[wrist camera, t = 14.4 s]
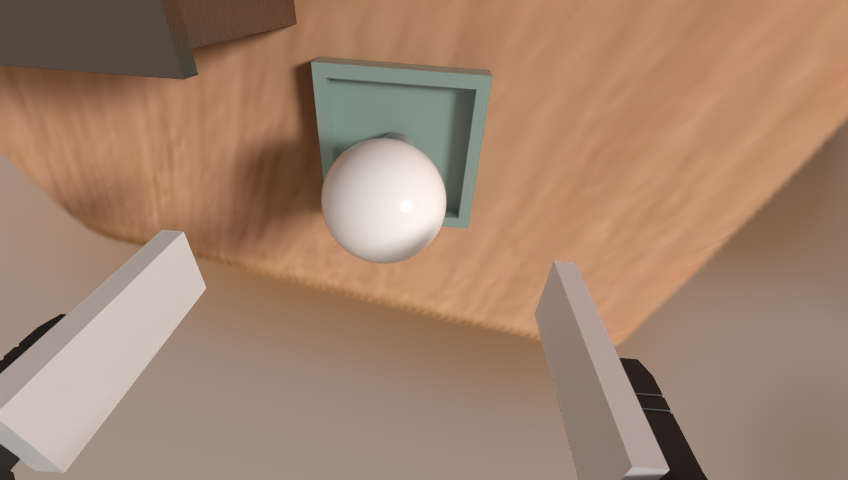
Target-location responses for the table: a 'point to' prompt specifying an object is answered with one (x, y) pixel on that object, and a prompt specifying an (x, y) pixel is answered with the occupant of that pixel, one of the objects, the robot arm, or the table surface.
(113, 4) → the grey lidded bin
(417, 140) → the tray
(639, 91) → the table surface
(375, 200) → the lightbulb
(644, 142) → the table surface
